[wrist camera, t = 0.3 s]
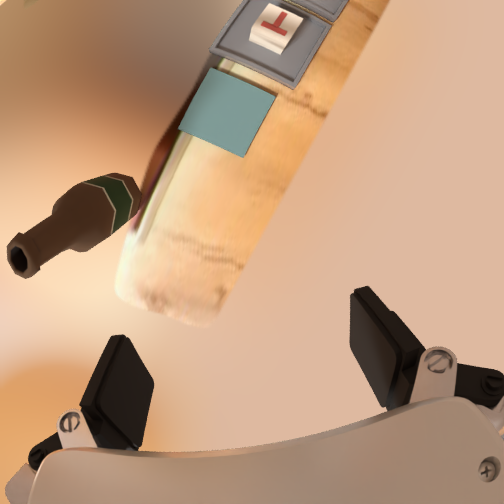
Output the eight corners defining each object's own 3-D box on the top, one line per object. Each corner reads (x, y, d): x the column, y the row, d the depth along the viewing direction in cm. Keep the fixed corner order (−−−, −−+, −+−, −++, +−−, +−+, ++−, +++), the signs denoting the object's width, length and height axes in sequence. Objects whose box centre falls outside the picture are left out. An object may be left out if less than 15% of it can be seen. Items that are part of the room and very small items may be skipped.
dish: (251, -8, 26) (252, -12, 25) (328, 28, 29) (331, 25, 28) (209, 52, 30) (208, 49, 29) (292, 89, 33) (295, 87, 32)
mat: (211, 69, 31) (210, 67, 31) (274, 97, 34) (275, 96, 33) (178, 129, 34) (177, 128, 34) (242, 157, 37) (243, 157, 36)
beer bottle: (140, 167, 36) (37, 202, 14) (146, 218, 39) (66, 304, 16) (95, 176, 35) (-19, 218, 13) (102, 224, 38) (7, 303, 16)
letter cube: (264, 17, 28) (269, 2, 23) (294, 31, 29) (303, 18, 24) (248, 40, 30) (251, 26, 25) (280, 54, 31) (287, 42, 26)
